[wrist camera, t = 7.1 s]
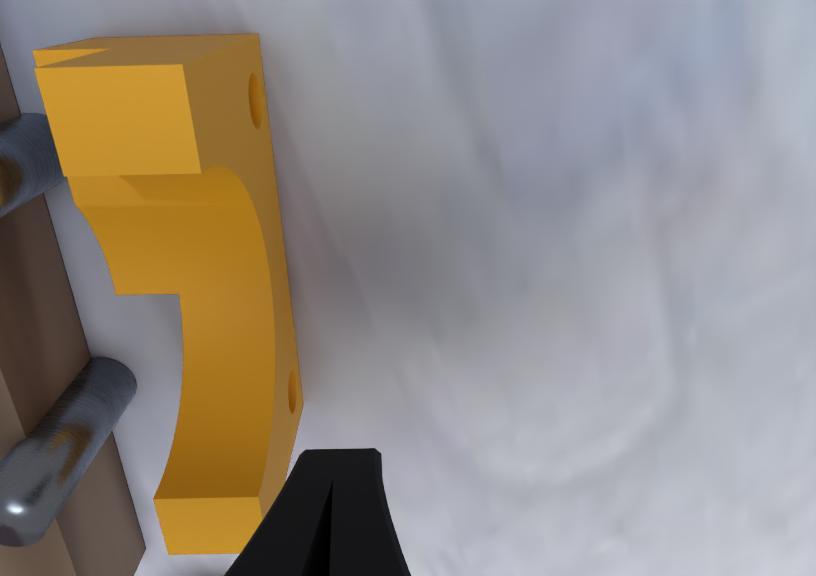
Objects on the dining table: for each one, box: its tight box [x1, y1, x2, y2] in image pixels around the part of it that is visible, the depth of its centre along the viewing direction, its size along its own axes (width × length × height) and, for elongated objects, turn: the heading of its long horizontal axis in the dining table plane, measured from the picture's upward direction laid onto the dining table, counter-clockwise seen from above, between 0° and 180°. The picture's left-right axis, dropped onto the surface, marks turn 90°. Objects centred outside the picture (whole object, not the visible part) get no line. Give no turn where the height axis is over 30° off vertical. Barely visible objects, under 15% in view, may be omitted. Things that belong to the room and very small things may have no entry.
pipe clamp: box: [33, 34, 304, 555], centre depth 16 cm, size 12×4×6 cm, turn 1°
